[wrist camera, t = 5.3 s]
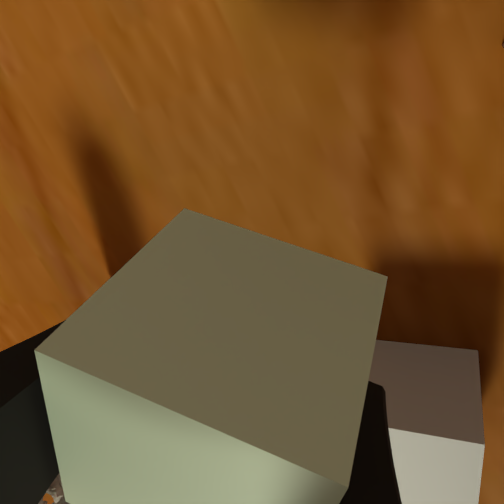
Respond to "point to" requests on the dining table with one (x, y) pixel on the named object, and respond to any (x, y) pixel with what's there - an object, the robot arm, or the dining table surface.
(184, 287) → the green cube
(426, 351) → the grey cube
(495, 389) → the dining table surface
